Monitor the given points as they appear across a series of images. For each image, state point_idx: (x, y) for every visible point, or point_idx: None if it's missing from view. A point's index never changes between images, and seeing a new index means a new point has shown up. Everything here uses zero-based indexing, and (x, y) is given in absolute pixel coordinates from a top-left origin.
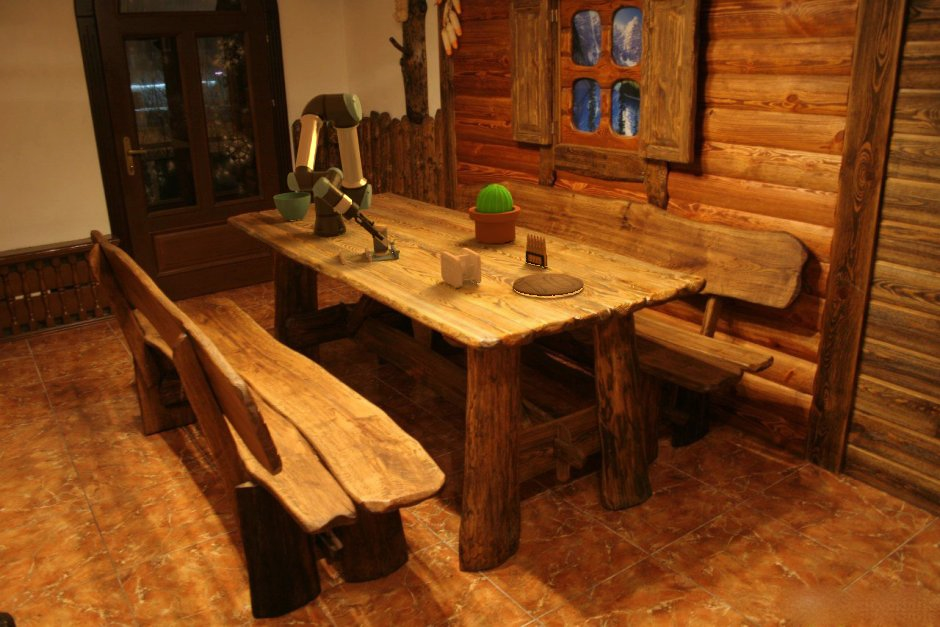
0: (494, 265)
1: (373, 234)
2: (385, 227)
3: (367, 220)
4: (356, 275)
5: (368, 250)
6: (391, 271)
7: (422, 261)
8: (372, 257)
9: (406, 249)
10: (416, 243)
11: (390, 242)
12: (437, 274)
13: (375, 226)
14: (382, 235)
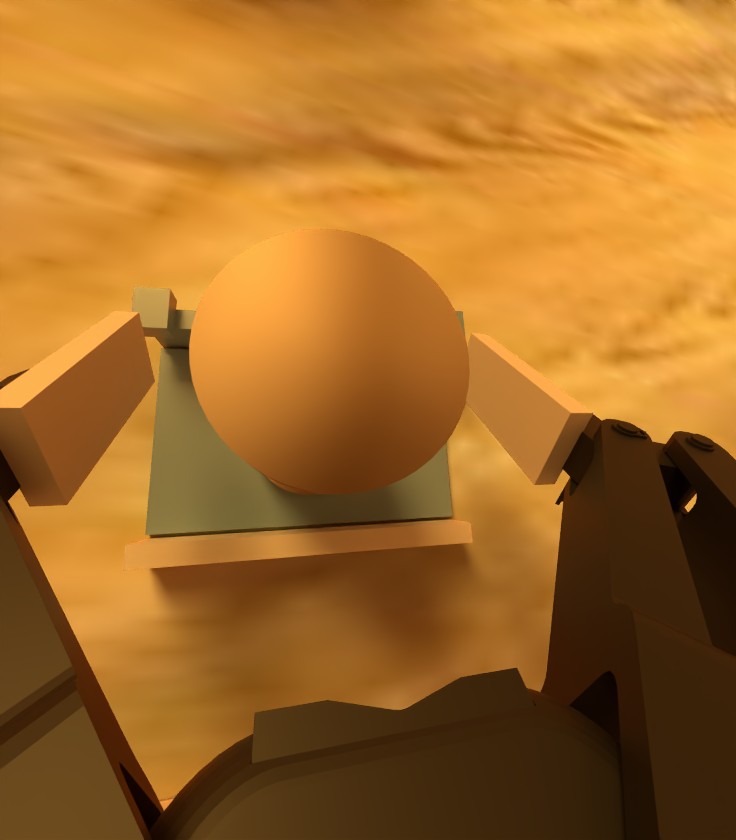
0: (623, 39)
1: (686, 499)
2: (426, 278)
3: (671, 634)
4: None
5: (296, 539)
6: (658, 428)
7: (513, 245)
8: (367, 510)
9: (203, 248)
10: (48, 143)
11: (163, 319)
12: (713, 250)
13: (318, 416)
14: (546, 383)
